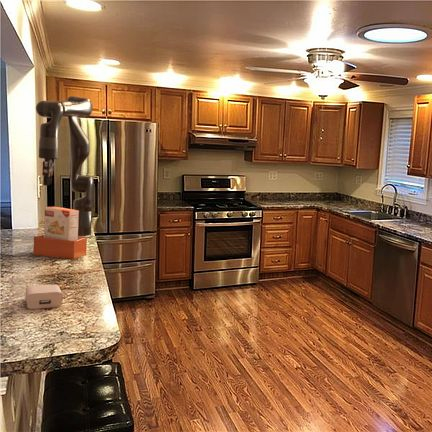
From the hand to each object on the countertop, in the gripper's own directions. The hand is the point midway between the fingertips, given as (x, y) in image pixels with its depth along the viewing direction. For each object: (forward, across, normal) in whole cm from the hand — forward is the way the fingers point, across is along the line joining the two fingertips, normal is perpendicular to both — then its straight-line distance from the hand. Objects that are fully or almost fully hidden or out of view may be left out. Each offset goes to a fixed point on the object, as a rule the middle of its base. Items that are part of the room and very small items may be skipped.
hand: (47, 184), depth 204 cm
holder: (+31, -2, -6) cm, 32 cm away
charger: (+31, -70, -8) cm, 77 cm away
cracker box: (+31, -2, -6) cm, 32 cm away
